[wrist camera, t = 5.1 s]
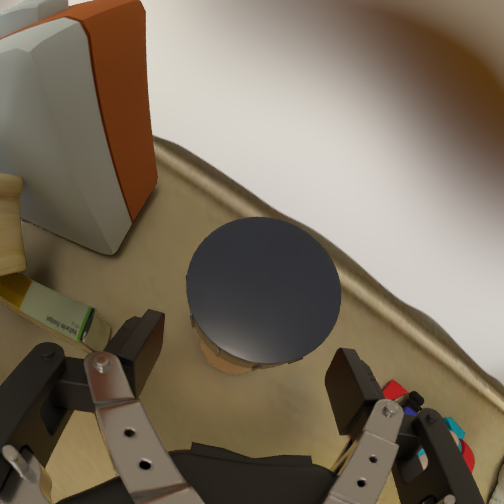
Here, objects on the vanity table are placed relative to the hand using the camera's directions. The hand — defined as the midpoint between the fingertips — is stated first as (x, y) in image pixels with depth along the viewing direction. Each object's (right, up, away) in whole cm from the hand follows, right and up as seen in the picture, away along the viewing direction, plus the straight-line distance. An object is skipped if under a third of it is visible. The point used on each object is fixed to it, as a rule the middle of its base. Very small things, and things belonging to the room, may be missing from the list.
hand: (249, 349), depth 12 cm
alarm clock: (-19, +10, +11) cm, 24 cm away
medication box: (-16, -1, +6) cm, 17 cm away
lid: (+1, +3, -2) cm, 3 cm away
